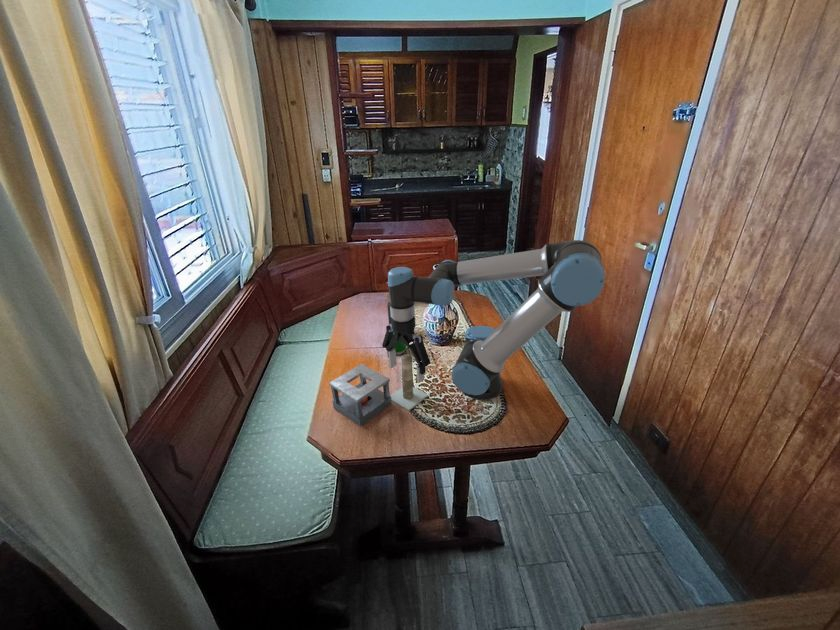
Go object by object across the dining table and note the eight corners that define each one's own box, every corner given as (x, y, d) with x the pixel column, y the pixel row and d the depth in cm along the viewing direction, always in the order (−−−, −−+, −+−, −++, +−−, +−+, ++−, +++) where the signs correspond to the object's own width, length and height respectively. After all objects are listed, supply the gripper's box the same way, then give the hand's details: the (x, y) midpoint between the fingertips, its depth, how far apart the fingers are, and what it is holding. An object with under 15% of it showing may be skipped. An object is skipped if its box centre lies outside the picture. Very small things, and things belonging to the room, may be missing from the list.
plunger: (370, 402, 131) (369, 391, 129) (361, 409, 128) (360, 397, 126) (363, 398, 133) (361, 386, 131) (354, 404, 131) (352, 392, 129)
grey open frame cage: (391, 403, 132) (389, 378, 127) (360, 426, 123) (356, 400, 118) (364, 387, 140) (361, 363, 135) (333, 407, 131) (329, 382, 126)
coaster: (428, 396, 135) (428, 394, 134) (408, 411, 128) (408, 409, 128) (407, 384, 141) (407, 383, 140) (387, 398, 134) (387, 397, 134)
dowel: (415, 395, 134) (414, 357, 127) (408, 400, 132) (406, 361, 124) (407, 391, 136) (406, 353, 129) (400, 396, 134) (398, 357, 127)
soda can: (404, 356, 157) (402, 331, 152) (386, 355, 159) (384, 329, 153) (408, 346, 164) (406, 322, 158) (391, 345, 165) (389, 320, 160)
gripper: (441, 323, 115) (441, 381, 125) (384, 302, 130) (389, 355, 140) (424, 333, 110) (426, 393, 120) (367, 310, 125) (373, 365, 135)
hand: (406, 373), depth 130 cm, fingers open, 12 cm apart
